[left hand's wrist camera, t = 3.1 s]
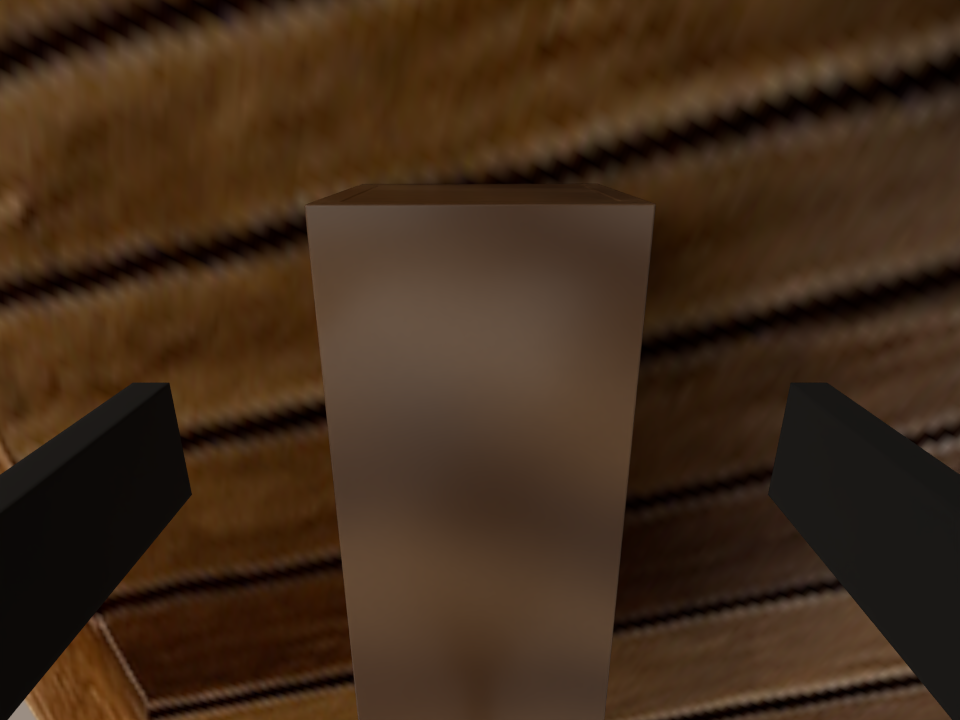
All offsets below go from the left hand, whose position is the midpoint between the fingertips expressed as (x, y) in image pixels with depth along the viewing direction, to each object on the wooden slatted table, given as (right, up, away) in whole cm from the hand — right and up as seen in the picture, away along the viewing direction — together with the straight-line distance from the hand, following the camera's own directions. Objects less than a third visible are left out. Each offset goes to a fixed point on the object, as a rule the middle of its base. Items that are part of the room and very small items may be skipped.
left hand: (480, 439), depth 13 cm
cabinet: (0, 0, +15) cm, 15 cm away
